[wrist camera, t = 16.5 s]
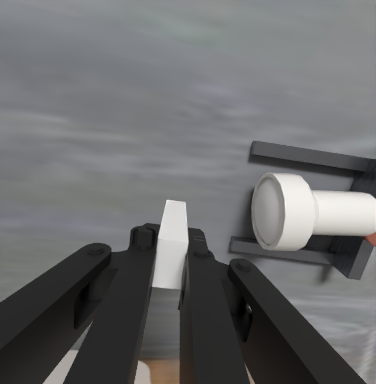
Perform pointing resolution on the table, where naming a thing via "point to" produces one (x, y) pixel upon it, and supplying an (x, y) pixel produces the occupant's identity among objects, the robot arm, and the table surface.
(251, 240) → the channel
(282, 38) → the table surface
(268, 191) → the spotlight
